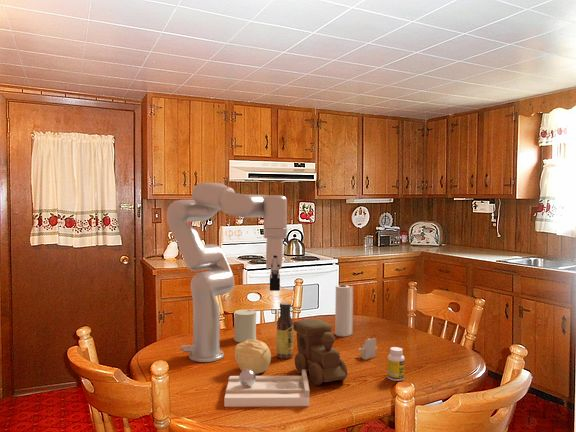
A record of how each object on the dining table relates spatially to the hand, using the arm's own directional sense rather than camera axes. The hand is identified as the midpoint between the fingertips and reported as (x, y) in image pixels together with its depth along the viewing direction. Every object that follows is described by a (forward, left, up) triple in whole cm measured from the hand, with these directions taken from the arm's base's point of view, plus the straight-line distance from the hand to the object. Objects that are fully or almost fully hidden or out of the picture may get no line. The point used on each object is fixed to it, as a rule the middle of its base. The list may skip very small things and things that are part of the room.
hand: (274, 287), depth 150 cm
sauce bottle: (+4, +20, -30) cm, 36 cm away
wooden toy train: (+15, +1, -30) cm, 33 cm away
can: (-12, +41, -30) cm, 52 cm away
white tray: (-2, -13, -30) cm, 32 cm away
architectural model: (+35, +19, -30) cm, 50 cm away
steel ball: (-8, -13, -25) cm, 29 cm away
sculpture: (-7, +6, -30) cm, 31 cm away
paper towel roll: (+30, +47, -30) cm, 63 cm away
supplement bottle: (+40, -1, -30) cm, 50 cm away
